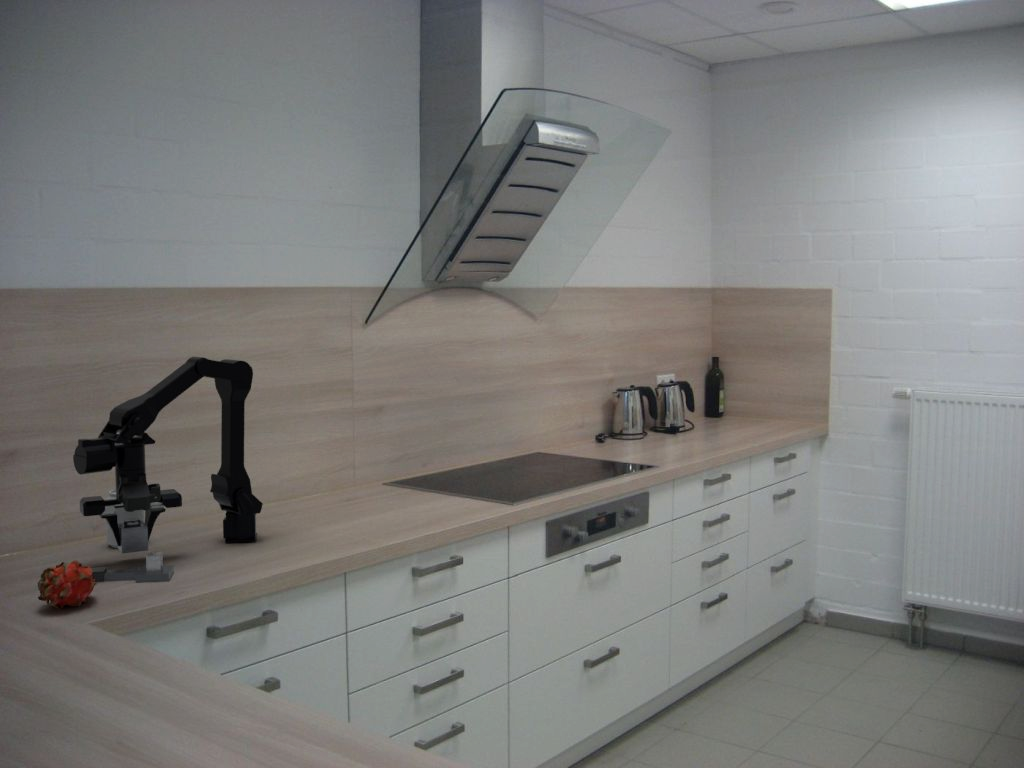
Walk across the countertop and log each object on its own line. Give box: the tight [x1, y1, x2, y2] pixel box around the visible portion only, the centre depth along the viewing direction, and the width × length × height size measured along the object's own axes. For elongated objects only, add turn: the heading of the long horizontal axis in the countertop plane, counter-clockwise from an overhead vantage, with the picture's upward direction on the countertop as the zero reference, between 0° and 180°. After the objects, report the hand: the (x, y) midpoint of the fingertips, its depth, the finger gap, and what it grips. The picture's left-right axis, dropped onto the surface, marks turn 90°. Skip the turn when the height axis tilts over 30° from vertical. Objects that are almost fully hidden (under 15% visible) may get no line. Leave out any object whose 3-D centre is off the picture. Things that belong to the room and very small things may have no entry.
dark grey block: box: [117, 518, 149, 554], centre depth 203 cm, size 5×5×6 cm
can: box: [105, 488, 145, 549], centre depth 216 cm, size 8×8×12 cm
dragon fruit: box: [37, 560, 98, 610], centre depth 176 cm, size 8×8×12 cm
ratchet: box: [90, 552, 175, 583], centre depth 191 cm, size 20×6×4 cm, turn 100°
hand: (132, 544), depth 203 cm, fingers closed on dark grey block, 5 cm apart
